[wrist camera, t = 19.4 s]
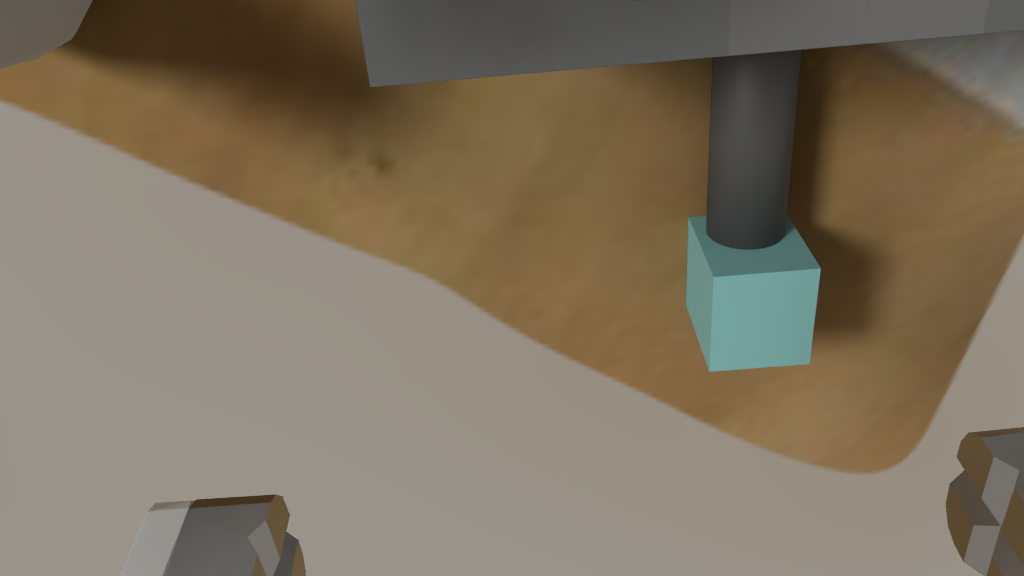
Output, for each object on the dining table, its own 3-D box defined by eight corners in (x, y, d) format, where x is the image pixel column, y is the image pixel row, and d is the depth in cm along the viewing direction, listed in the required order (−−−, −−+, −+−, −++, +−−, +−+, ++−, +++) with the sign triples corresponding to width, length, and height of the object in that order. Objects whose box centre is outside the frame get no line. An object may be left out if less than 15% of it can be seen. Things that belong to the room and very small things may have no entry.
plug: (695, -29, 29) (725, 7, 26) (805, -38, 29) (853, -4, 25) (686, 305, 36) (709, 371, 32) (775, 298, 36) (809, 363, 32)
